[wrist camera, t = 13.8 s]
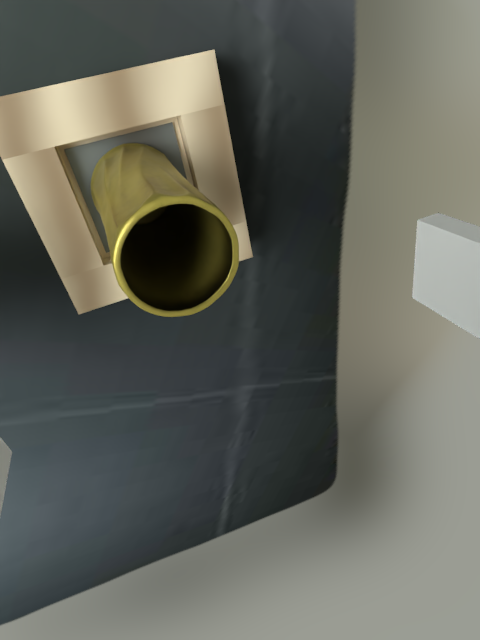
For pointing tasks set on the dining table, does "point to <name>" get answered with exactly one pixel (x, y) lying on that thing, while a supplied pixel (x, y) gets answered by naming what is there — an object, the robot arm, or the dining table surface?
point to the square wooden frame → (100, 137)
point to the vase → (162, 233)
